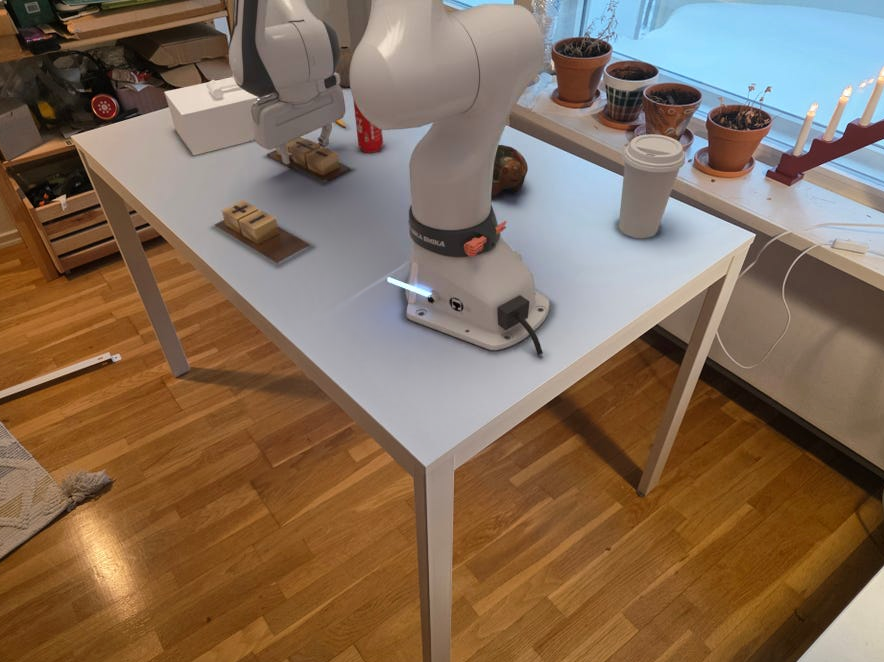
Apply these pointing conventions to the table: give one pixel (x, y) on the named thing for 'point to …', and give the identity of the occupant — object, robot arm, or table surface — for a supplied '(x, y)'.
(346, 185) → the table surface
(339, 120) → the pencil
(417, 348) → the table surface
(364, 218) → the table surface
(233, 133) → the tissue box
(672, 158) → the coffee cup
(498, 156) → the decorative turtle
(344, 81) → the vase
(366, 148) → the beverage can
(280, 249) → the strip
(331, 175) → the strip
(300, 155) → the wooden block
